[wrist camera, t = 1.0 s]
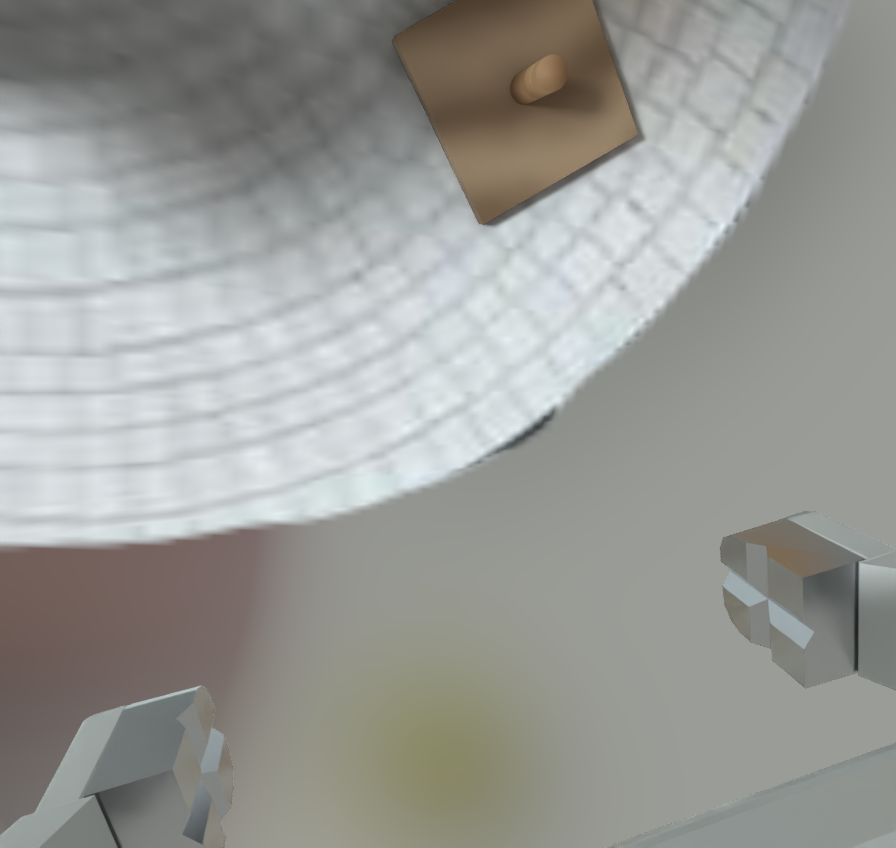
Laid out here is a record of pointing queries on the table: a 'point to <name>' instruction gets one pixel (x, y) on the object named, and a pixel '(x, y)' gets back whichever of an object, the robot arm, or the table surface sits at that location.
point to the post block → (516, 94)
